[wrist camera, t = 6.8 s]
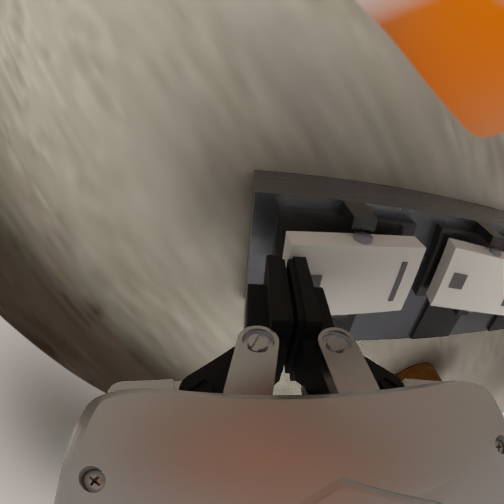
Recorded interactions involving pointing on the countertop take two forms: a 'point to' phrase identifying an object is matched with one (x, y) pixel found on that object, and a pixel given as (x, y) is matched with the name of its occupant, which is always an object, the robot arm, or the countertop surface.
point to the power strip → (374, 222)
